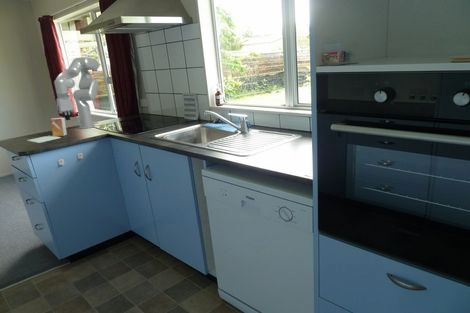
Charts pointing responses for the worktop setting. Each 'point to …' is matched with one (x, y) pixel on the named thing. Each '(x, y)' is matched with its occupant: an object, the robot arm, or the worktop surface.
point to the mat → (43, 139)
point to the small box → (58, 126)
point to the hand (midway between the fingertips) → (68, 120)
